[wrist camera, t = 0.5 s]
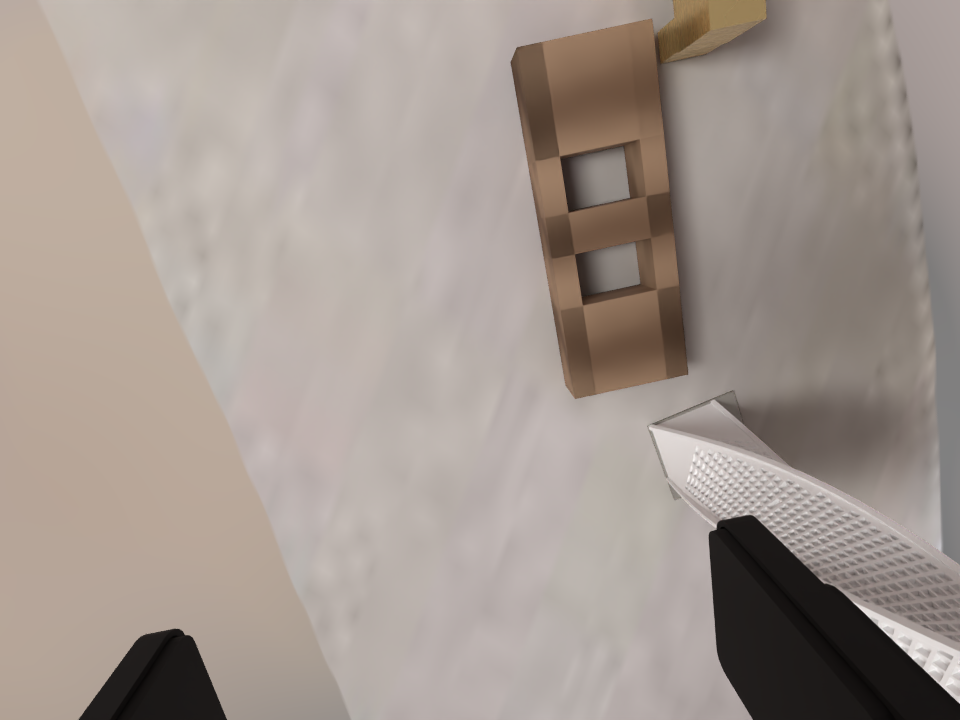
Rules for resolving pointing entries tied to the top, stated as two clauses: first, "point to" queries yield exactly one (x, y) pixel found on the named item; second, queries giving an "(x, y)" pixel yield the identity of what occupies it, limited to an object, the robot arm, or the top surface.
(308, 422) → the top surface
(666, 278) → the rail
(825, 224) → the top surface
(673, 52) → the tan rectangular block
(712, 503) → the skyscraper
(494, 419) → the top surface
